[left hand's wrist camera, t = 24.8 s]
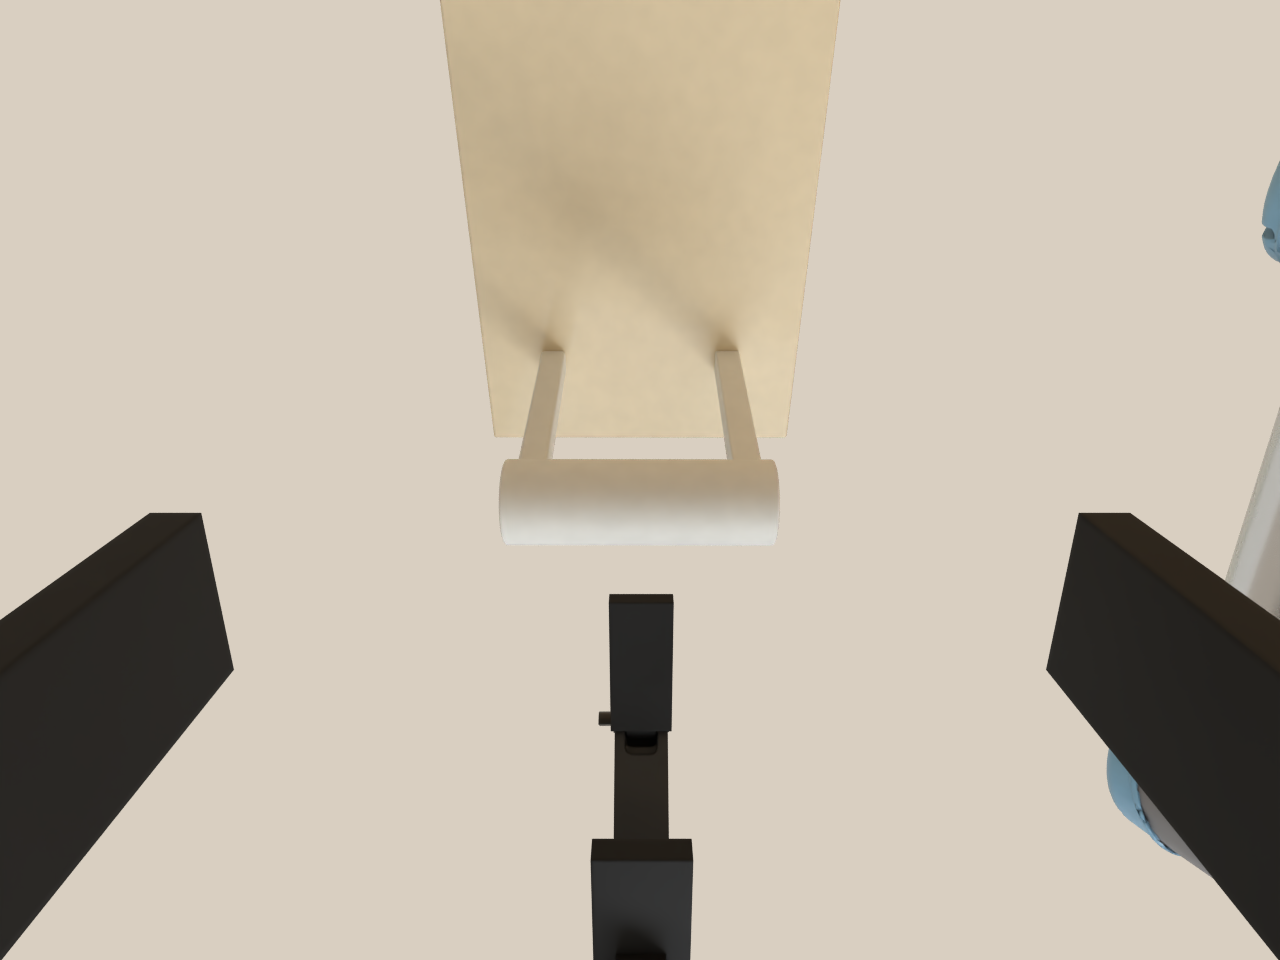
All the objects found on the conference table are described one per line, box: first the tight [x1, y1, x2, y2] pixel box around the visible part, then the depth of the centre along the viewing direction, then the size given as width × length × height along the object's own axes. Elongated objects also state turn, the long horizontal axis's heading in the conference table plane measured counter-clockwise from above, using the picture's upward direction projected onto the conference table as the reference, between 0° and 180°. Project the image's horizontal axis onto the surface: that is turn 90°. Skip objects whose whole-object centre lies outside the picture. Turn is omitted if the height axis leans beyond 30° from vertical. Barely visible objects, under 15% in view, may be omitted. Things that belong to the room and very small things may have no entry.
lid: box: [440, 0, 840, 545], centre depth 19 cm, size 14×9×9 cm
